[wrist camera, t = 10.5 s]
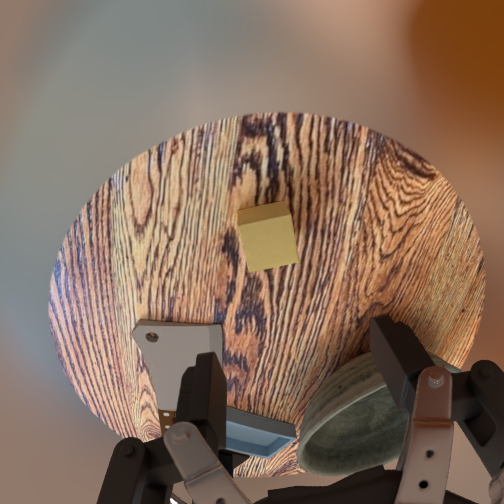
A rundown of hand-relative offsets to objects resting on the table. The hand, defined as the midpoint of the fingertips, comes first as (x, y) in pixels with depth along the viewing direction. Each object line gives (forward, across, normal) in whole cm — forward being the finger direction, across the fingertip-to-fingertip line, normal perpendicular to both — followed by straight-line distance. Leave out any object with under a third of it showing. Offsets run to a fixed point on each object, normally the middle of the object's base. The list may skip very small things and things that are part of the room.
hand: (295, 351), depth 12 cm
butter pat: (+16, 0, 0) cm, 16 cm away
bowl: (+16, -9, +22) cm, 29 cm away
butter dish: (+16, +8, +29) cm, 34 cm away
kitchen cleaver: (+16, +14, +19) cm, 29 cm away
